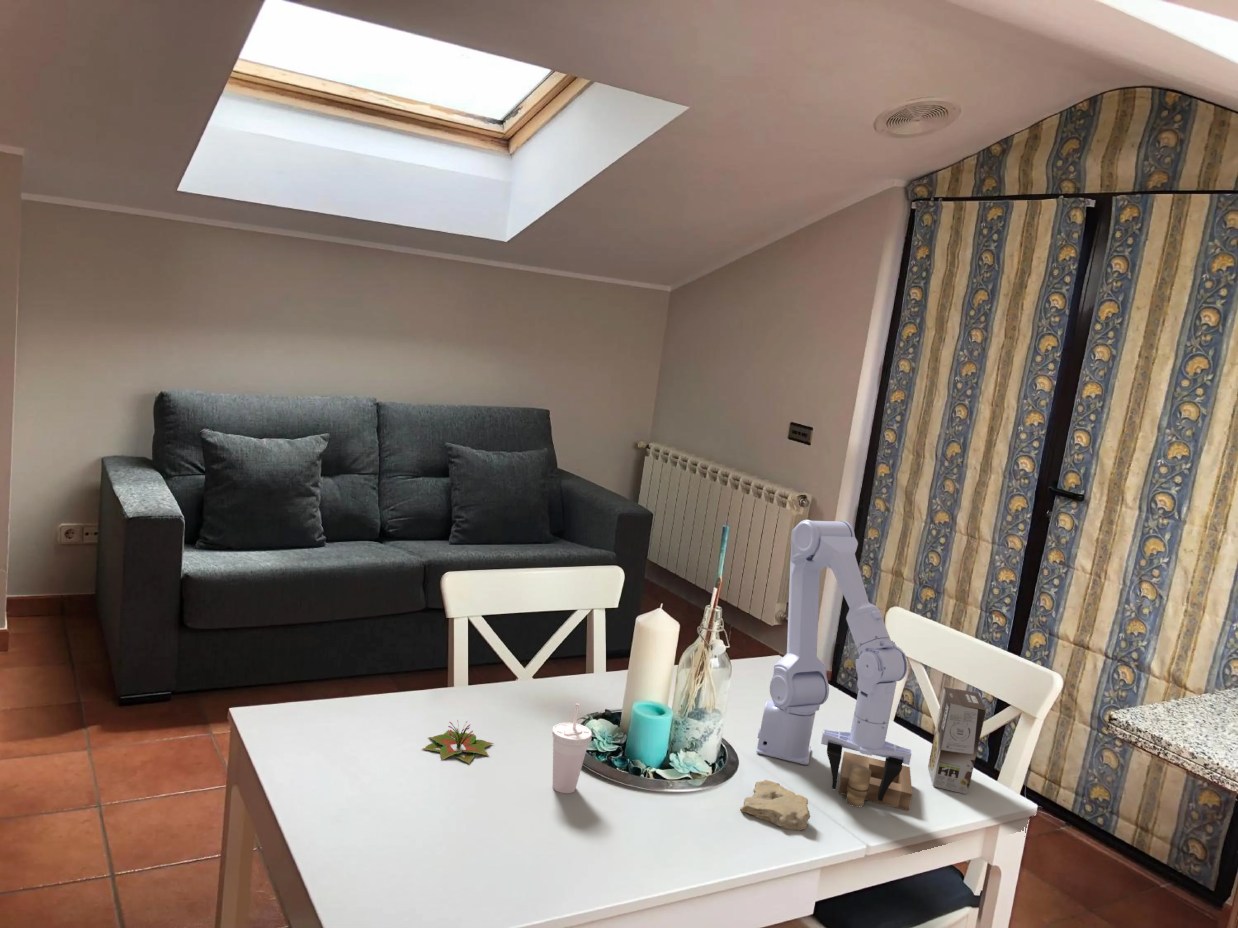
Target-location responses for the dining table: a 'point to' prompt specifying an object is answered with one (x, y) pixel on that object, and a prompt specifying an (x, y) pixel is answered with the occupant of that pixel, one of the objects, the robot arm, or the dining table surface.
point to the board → (878, 781)
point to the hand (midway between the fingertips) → (856, 792)
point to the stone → (777, 806)
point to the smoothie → (569, 753)
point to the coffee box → (956, 739)
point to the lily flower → (458, 744)
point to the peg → (858, 785)
